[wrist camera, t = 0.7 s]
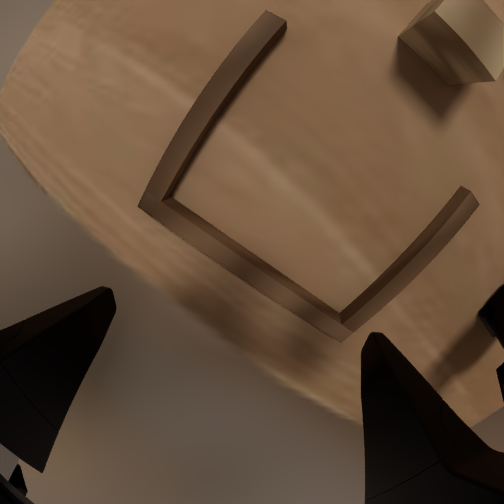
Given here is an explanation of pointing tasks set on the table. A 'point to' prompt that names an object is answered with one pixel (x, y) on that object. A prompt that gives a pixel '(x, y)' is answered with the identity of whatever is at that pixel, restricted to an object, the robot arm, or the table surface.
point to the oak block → (458, 40)
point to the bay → (241, 259)
